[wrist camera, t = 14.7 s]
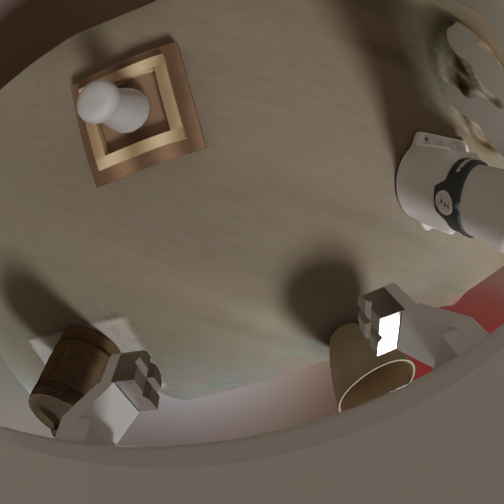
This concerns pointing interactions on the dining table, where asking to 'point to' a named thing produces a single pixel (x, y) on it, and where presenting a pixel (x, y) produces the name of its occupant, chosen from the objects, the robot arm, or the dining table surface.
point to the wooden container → (70, 374)
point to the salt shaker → (112, 106)
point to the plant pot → (364, 368)
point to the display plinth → (156, 125)
